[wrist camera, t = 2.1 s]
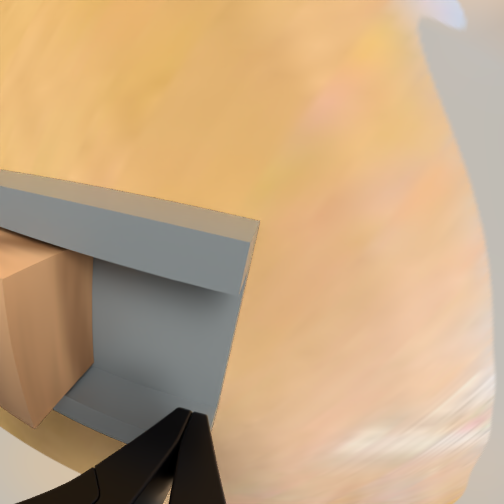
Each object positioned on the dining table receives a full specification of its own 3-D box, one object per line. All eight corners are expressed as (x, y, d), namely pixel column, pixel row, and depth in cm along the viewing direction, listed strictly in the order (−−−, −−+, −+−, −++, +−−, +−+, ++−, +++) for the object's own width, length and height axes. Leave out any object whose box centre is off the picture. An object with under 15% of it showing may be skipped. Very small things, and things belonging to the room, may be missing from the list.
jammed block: (94, 238, 11) (2, 279, 6) (94, 362, 13) (34, 429, 8) (1, 211, 11) (-79, 233, 6) (8, 320, 13) (-53, 363, 8)
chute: (260, 220, 11) (250, 242, 8) (216, 414, 14) (200, 467, 11) (-13, 167, 12) (-60, 173, 9) (-6, 322, 14) (-42, 345, 11)
